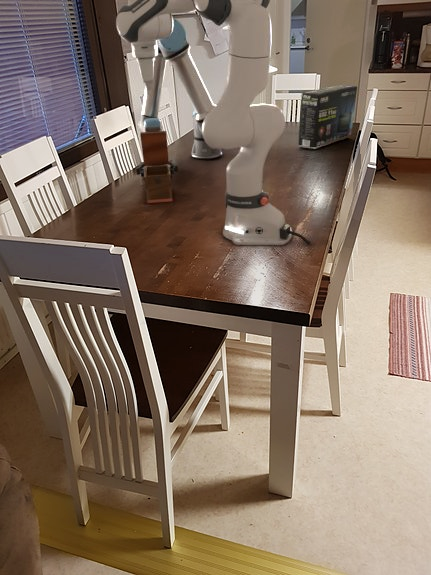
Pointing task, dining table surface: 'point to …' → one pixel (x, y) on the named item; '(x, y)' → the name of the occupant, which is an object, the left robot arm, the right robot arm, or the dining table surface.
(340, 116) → the router box
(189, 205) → the dining table surface
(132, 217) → the dining table surface
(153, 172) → the chest
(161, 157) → the lid
